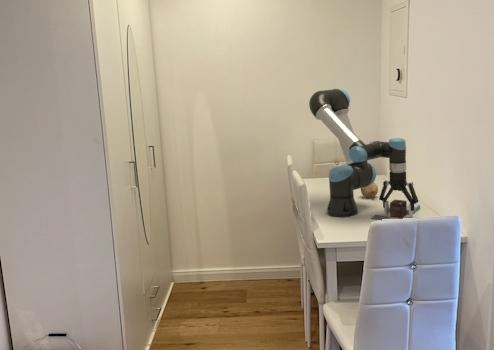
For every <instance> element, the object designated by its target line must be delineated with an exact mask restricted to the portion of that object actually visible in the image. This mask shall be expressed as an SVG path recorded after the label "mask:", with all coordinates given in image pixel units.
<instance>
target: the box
mask: <svg viewBox="0 0 494 350" xmlns="http://www.w3.org/2000/svg"><path fill="white" fill-rule="evenodd" d="M407 202H408V201H407V200H405V199H404V200H402V199H393V200H392V201H390V202H389V204H390V212H389V218H396V219H403V218H405V217H406V216H407V215H408V214H407V204H408V203H407ZM404 216H405V217H404Z"/></svg>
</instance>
